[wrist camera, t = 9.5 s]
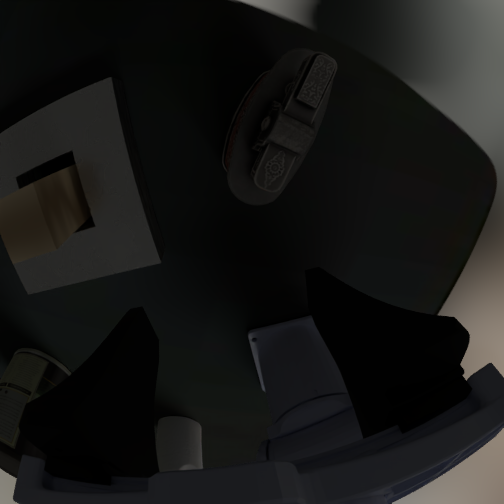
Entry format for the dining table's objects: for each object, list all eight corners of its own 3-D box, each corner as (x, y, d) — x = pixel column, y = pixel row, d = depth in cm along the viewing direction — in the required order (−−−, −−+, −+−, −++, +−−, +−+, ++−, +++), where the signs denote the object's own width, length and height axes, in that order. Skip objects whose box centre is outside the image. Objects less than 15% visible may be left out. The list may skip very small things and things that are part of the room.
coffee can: (90, 376, 27) (63, 484, 14) (74, 411, 30) (54, 496, 17) (15, 331, 23) (-36, 427, 11) (11, 375, 26) (-22, 455, 13)
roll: (216, 505, 22) (190, 513, 23) (209, 424, 33) (187, 439, 34) (166, 497, 20) (145, 504, 21) (168, 410, 31) (149, 426, 32)
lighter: (255, 183, 21) (292, 235, 12) (211, 166, 20) (212, 206, 11) (301, 84, 18) (373, 62, 9) (257, 64, 17) (299, 18, 8)
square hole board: (165, 247, 22) (161, 262, 20) (40, 279, 21) (28, 294, 19) (122, 81, 16) (111, 76, 14) (-7, 145, 15) (-24, 150, 13)
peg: (96, 210, 20) (56, 249, 13) (57, 224, 20) (13, 264, 13) (82, 161, 18) (33, 182, 12) (42, 178, 18) (-10, 205, 12)
